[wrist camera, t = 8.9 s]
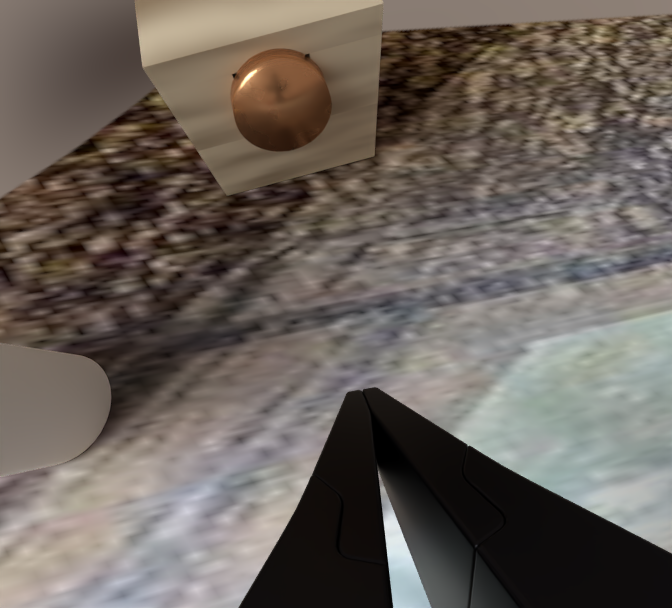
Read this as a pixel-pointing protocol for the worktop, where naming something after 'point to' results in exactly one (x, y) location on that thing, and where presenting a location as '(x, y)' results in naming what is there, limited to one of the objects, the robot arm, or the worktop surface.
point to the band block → (240, 45)
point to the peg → (280, 100)
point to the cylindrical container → (48, 407)
